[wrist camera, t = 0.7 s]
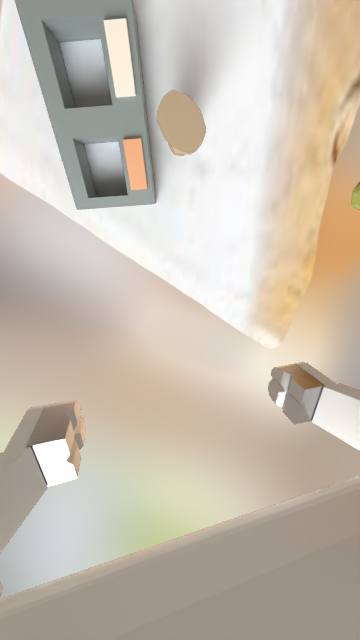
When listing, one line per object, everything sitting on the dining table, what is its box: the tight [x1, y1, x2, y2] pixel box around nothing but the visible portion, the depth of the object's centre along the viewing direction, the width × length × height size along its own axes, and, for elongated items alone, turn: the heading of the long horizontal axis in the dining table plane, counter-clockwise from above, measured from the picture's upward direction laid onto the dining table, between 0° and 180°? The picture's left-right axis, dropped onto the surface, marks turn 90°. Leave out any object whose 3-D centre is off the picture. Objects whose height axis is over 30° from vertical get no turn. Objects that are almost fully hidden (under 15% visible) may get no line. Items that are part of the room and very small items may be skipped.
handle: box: [157, 90, 206, 156], centre depth 32 cm, size 5×6×15 cm
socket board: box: [15, 0, 156, 210], centre depth 34 cm, size 24×15×6 cm, turn 4°
